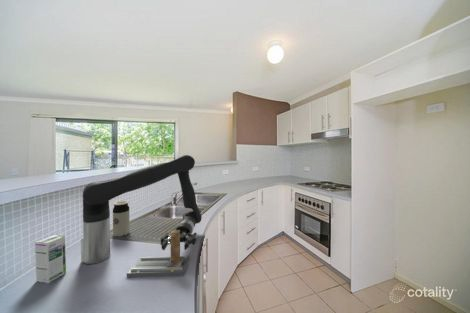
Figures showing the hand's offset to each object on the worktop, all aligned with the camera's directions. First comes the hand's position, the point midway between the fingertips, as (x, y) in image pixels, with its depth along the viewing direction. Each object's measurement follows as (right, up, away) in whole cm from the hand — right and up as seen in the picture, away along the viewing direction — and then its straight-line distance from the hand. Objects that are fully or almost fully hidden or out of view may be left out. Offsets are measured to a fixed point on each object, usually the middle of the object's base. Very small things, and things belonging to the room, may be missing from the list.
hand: (174, 247), depth 69 cm
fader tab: (0, -7, +2) cm, 7 cm away
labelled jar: (-41, -9, +33) cm, 53 cm away
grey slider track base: (-6, -9, +2) cm, 11 cm away
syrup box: (-44, -9, -3) cm, 45 cm away
